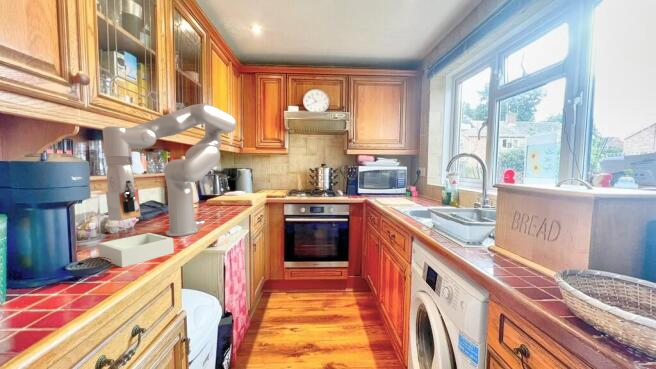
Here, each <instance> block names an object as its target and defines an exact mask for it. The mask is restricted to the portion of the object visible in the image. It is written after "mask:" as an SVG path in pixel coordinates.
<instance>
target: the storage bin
mask: <svg viewBox="0 0 656 369" xmlns="http://www.w3.org/2000/svg"><path fill="white" fill-rule="evenodd" d="M97 245H98V255H99V256H98V258H99V257H106V258H109V259H111V261H112V263H113V264H112V263H111V264H112V265H114V264H115V266H117V267H121V268H125V267H129V266H133V265H136V264H140V263H143V262H146V261H147V262H148V261H150V260H154V259H157V258H161V257H165V256H167V255H171V254H174V252H175V250H174V249H175V248H174V238H173V237H171V236H169V237H168V236H166V235H161V234H156V233H151V232H146V233H143V234H137V235H132V236H128V237H123V238H117V239H113V240H112V239H111V240H108V241H103V242H99V243H98V244H97Z"/></svg>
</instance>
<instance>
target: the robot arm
mask: <svg viewBox="0 0 656 369" xmlns="http://www.w3.org/2000/svg"><path fill="white" fill-rule="evenodd" d="M198 125H204V132H205V134H204V136H203V137H202V138H201V139H200V140H199V141H198V142H196V143H195V144H193V145H192V146H191V147H190V148H189V149H187V151H186V153H185V155H184V156H185V157H184V158H185V159H184V158H180V159H178V158H177V159H172V160H170V161H168V162H167V163H166V164H165V166H164V168H163V169H164V171H163V174H164V180H165V182H166V189H167V204H168V206H167V208H168V228H169V229H167V230H166V231H165V236H166V237H168V236H169V237H183V236H189V235H193V234H196V233H198V232H199V231H200V230H199V226H202V225H205V220H195V211H194V210H195V209H194V208H195V207H194V191H193V186H192V184H191V183H195V182H199V181H200V180H202V179H203V178H204V177H205V176H206V175H207V174H209V172H211V171H212V170H213V169H214V168H215V167H216V166H217V165H218V164H219V162H220V160H221V152H220V148H221V147H222V134H230V133H233V132H234V131H235V130H236V128H237V120H236V119H235V118H234V116H232V115H231V113H228V112H226V111H224V110H222V109H221V108H218V107H216V106H215V105H212V104H209V103H203V102H202V103H199V104H191V105H188V106H187V107H183V108H181V109H179V110H176V111H173V112H171V113H168V114H165V115H162V116H160V117H157V118H154V119H152V120H148V121H146V122H143V123H140V124H137V125H134V126H133V127H124V126H113V125H111V126H104V127H103V129H102V138H103V146H104V147H103V148H104V156H105V164H106V165H105V166H106V167H107V168H106V179H107V180H106V182H107V191H118V192H119V194H122V193H123V198H124V201H125V202H123V204H124V212H125V213H128V212H134V211H135V204H134V200H135V199H134V196H135V189H136V186H135V178H134V173H133V167H132V166H133V154H132V149H145V148H146V149H147V148H150V147H152V146H154V144H156V142H157V140H158V139H161V138H166V137H173V136H175V135H176V136H177V135H179V134H181V133H183V132H185V131H188V130H190V129H192V128H195V127H197V126H198ZM125 191H127V192H125ZM128 191H129V192H128ZM126 195H127V197H126Z"/></svg>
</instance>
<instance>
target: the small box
mask: <svg viewBox="0 0 656 369" xmlns="http://www.w3.org/2000/svg"><path fill="white" fill-rule="evenodd" d="M125 192H127V191H125ZM128 192H129V191H128ZM139 195H140V194H139V189H138V188H135V196H134V199H135V200H134V204H135V211H134V212H128V213H125V212H124V204H123V202H125V201H124V198H123V193H122V194H119V192H118V191H108V190H107V191H105V196H106V205H107V206H106V207H107V213H108V214H107V216H108V221H109V222H113V221H116V222H120V221H121V222H122V221H126V220H129V219H135V218H139V217H140V218H141V207H140V199H139V198H140V196H139ZM126 197H127V195H126Z"/></svg>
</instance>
